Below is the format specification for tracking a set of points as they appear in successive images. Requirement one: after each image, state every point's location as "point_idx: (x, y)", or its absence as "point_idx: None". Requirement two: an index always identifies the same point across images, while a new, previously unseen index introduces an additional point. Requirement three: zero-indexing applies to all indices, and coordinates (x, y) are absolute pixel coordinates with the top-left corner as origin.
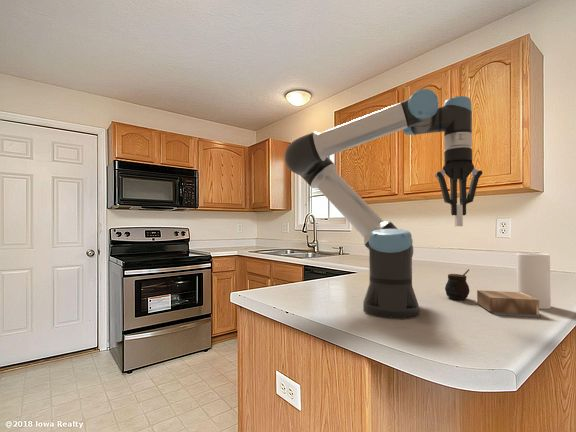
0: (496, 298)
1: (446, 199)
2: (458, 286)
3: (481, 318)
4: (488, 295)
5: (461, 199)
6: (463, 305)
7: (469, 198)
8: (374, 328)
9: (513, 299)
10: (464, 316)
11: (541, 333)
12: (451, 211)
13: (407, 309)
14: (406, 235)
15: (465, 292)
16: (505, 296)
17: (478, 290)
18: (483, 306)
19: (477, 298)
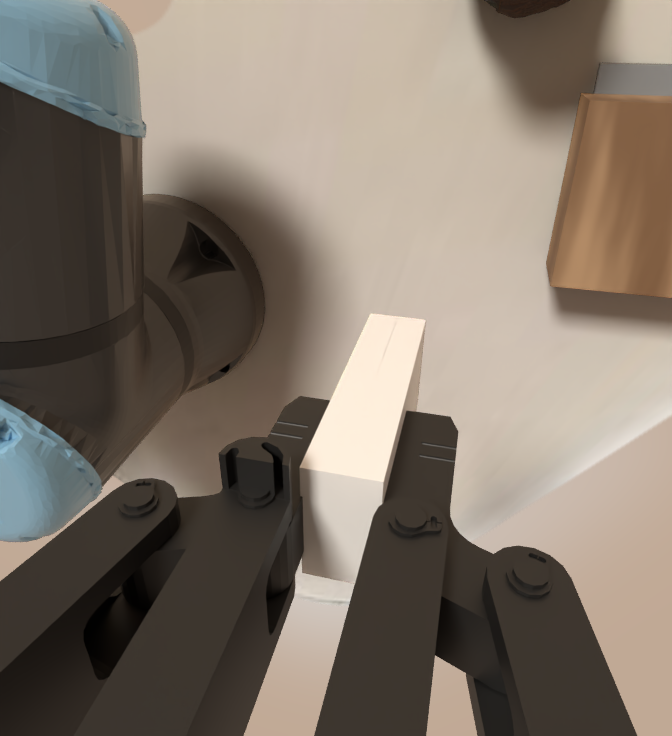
0: (579, 288)
1: (124, 605)
2: (515, 6)
3: (468, 335)
4: (570, 243)
5: (380, 594)
6: (490, 131)
7: (477, 702)
8: (149, 441)
9: (657, 295)
10: (416, 317)
11: (573, 460)
12: (275, 437)
13: (213, 380)
14: (48, 534)
15: (559, 5)
16: (651, 254)
17: (595, 105)
18: (562, 186)
19: (583, 99)
